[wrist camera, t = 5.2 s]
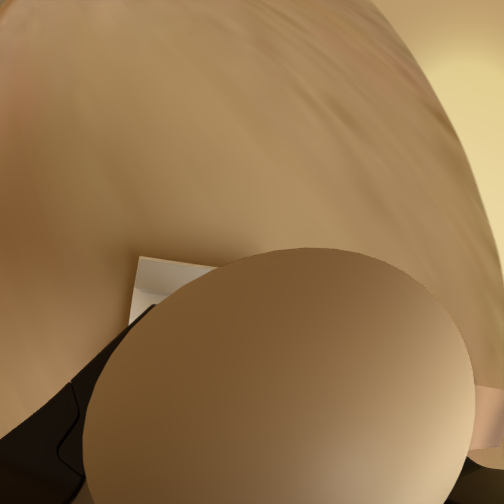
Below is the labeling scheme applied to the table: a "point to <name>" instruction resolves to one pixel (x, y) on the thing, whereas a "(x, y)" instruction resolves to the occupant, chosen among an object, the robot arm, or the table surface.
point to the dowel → (285, 390)
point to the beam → (488, 418)
